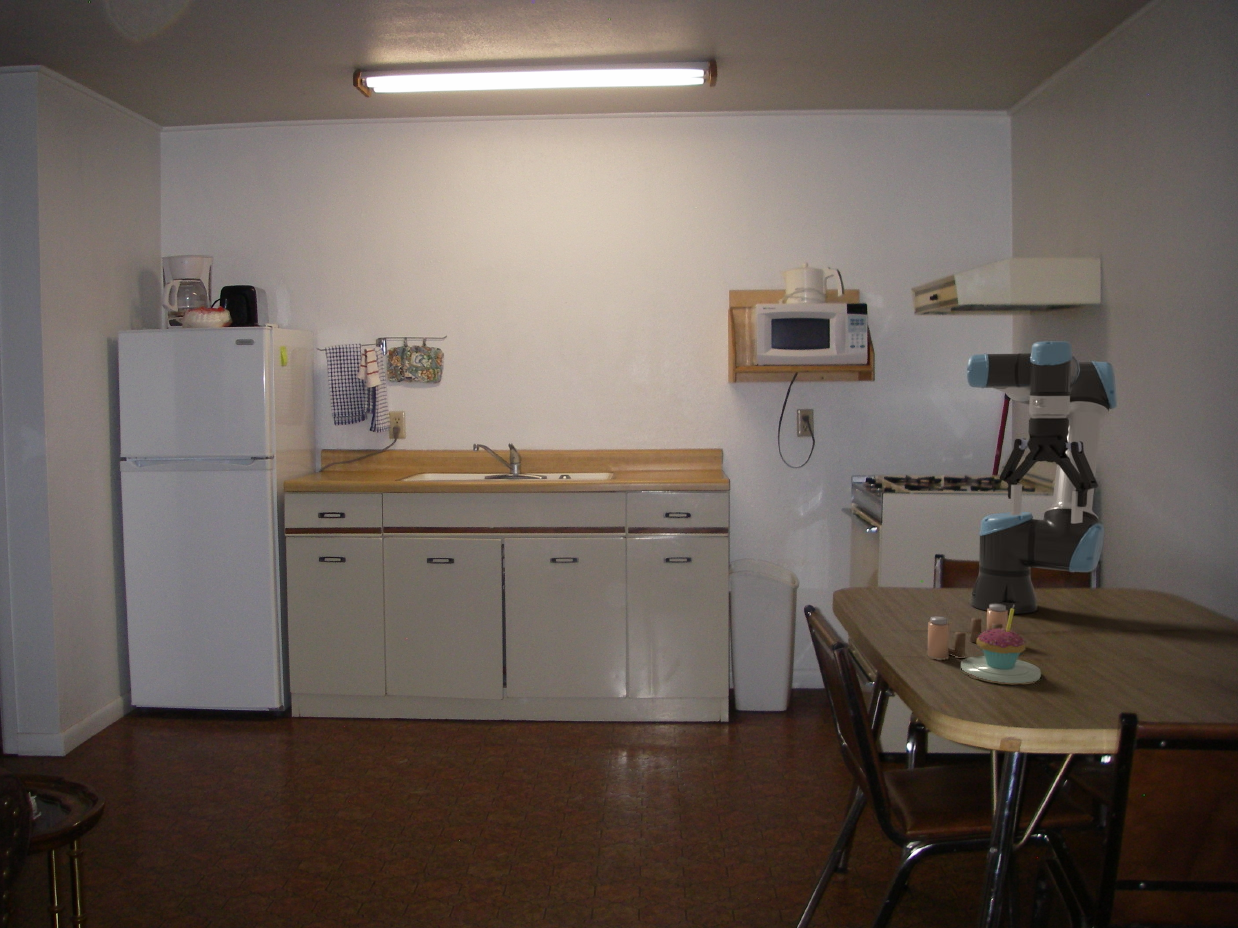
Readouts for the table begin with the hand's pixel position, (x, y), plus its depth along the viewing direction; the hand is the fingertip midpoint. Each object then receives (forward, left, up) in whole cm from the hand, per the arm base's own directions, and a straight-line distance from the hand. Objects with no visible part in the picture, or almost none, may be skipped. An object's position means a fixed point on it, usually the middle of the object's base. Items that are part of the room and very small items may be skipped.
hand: (1045, 518), depth 188 cm
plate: (+7, -24, -27) cm, 37 cm away
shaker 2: (-6, -6, -27) cm, 28 cm away
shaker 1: (-6, -26, -27) cm, 37 cm away
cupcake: (+7, -24, -26) cm, 36 cm away
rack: (-6, -16, -27) cm, 32 cm away
